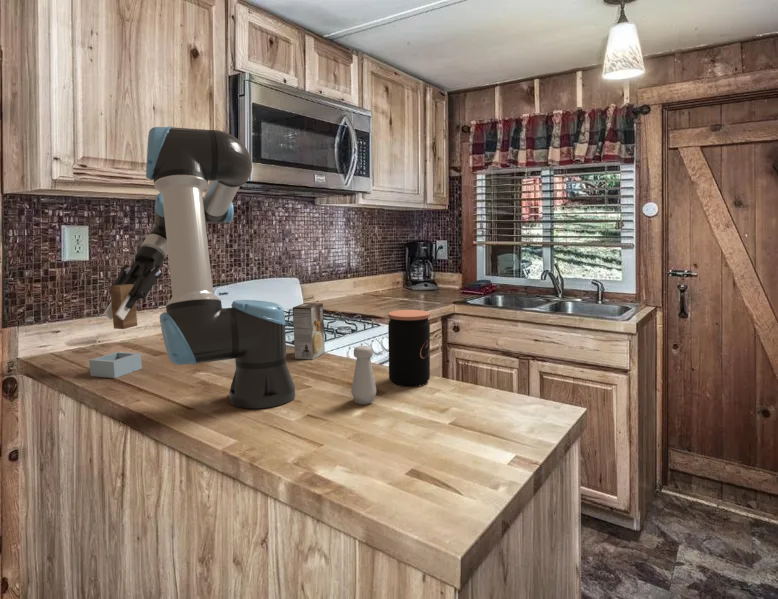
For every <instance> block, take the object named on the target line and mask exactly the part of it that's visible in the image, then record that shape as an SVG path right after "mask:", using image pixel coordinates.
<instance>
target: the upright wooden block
mask: <svg viewBox="0 0 778 599" xmlns="http://www.w3.org/2000/svg"><path fill="white" fill-rule="evenodd" d="M113 285H114V284H113ZM113 285H110V286H109V293H110V292H111V293H110V301H111V303H112V314H113V318H112V322H113V329H115V330H125V329H129V328H133V327H138V318H137V317H138V316H137V306H136V302H135V304H134V306H133V307H132V308H131V309H130V310H129V312H128V314H127V315H126V317H125V319H124V320H121V319H120V318H119V317H118V316H117V315H116V312H117V311H118V309H119V308H120V306H121V304H122V303H123V301H124V300H125V298H126V296H127V295H129V296H130V297H131V295H130V294H129V293H130V292H132V289H133V287H134V285H135V283H134V284H121V285H114V286H113Z"/></svg>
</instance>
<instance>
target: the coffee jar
mask: <svg viewBox="0 0 778 599" xmlns="http://www.w3.org/2000/svg"><path fill="white" fill-rule="evenodd" d="M430 315H431V314H430V312H429V311H426V310H420V309H399V310H398V309H397V310H392V311H389V312H388V318H389V321H388V325H387V326H388V327H387V330H388V335H387V336H388V338H387V339H388V378H389V380H390V382H391V383H392V385H395V386H399V387H406V388H413V387H414V386H415V387H420V386H419V385H421V386H424V385H426V384H427V383H428V381H429V380H430V377H431V332H430V331H431V323H430V320H429V318H430V317H431V316H430ZM423 384H424V385H423Z"/></svg>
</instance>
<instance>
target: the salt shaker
mask: <svg viewBox="0 0 778 599" xmlns="http://www.w3.org/2000/svg"><path fill="white" fill-rule="evenodd" d="M373 354H374V353H373V348H372V347H371V346H369V345H358V346H356V347H354V348H353V357H355V358H356V361H355V369H354V373H353V379H352V385H351V390H350V394H351V396H352V398H353V400H354V402H355V404H357V403H359V404H358V405H361V404H365V405H370V404H369V403H371V402H372V401H373V402H374V400H375V397H376V394H377V387H376V381H375V375H374V371H373V366H372V361H371V358H372V357H373ZM373 402H372V403H373ZM372 403H371V404H372Z"/></svg>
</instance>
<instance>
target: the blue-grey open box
mask: <svg viewBox="0 0 778 599" xmlns="http://www.w3.org/2000/svg"><path fill="white" fill-rule="evenodd" d="M88 362H89V364H88V365H89V373H90V374H89V375H90V376H91V377H97V378H98V377H100V378H110V379H117V378H119V377H122V376H125V375H128V374H130V373H133V371H134V372H136V371H139V370H142V369H143V364H142V353H141V352H131V351H130V352H127V351H115V352H112V353H109V354H105V355H101V356H98V357H95V358H90V359H89V360H88Z"/></svg>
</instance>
